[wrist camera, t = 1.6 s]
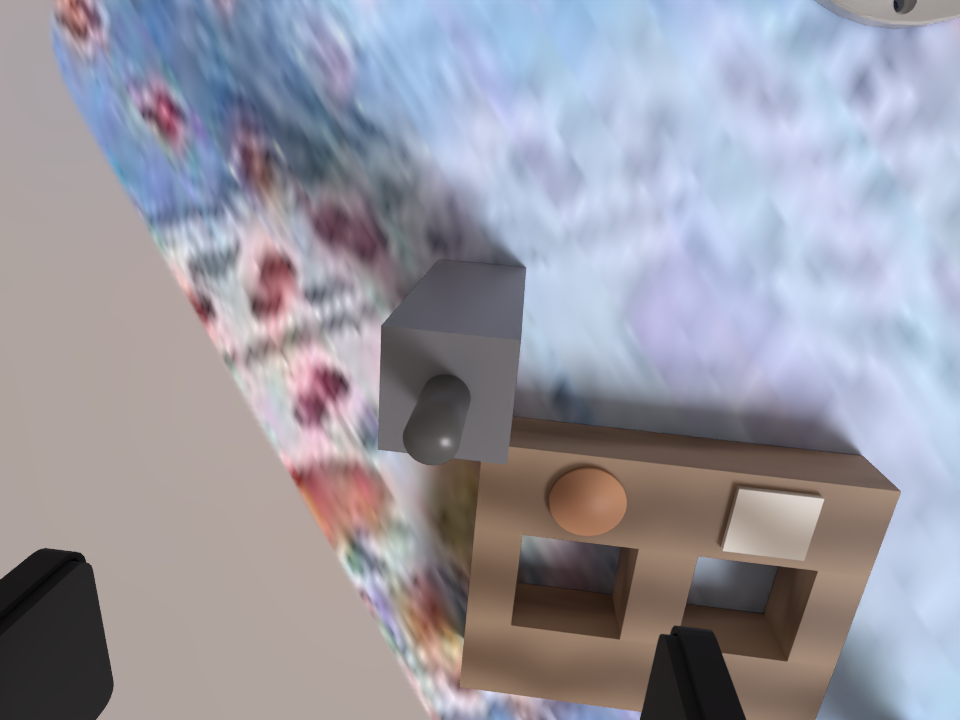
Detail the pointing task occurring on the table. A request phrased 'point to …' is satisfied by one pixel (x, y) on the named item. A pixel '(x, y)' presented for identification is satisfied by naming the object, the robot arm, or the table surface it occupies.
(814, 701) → the socket block
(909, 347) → the table surface
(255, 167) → the table surface
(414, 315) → the plug
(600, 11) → the table surface
